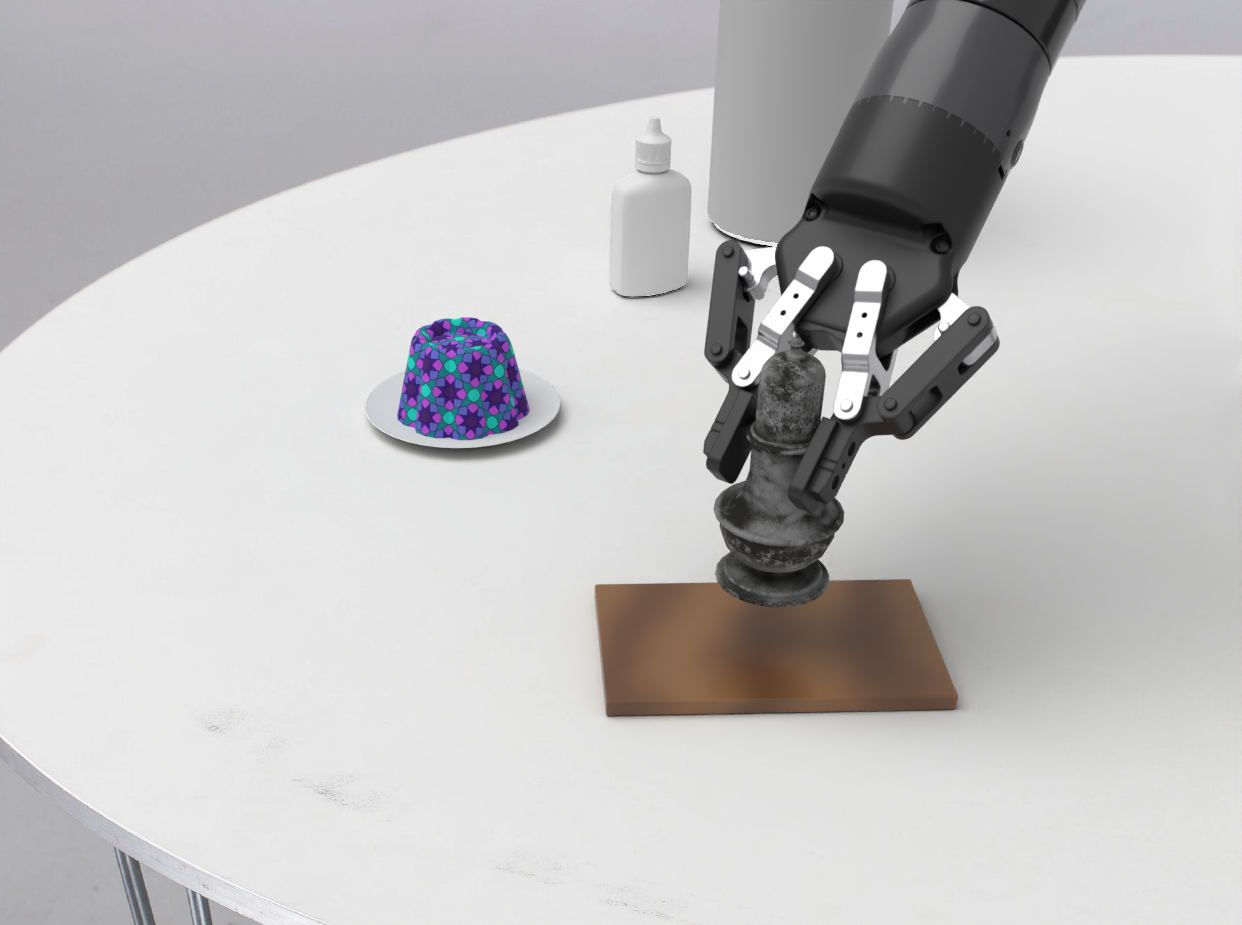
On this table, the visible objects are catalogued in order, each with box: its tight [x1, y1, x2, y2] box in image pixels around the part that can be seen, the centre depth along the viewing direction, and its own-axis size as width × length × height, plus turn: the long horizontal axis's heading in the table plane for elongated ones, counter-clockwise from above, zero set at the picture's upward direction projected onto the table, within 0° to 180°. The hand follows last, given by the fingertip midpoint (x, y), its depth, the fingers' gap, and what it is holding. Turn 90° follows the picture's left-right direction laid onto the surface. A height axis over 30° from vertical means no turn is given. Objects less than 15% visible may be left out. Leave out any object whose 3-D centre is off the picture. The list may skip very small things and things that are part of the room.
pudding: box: [364, 316, 561, 449], centre depth 93 cm, size 12×12×5 cm
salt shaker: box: [713, 334, 845, 608], centre depth 68 cm, size 6×6×12 cm
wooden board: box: [594, 578, 959, 717], centre depth 74 cm, size 16×10×1 cm, turn 92°
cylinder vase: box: [707, 0, 894, 243], centre depth 114 cm, size 12×12×25 cm
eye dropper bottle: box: [608, 115, 693, 297], centre depth 107 cm, size 4×6×12 cm
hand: (759, 488), depth 67 cm, fingers closed on salt shaker, 3 cm apart
